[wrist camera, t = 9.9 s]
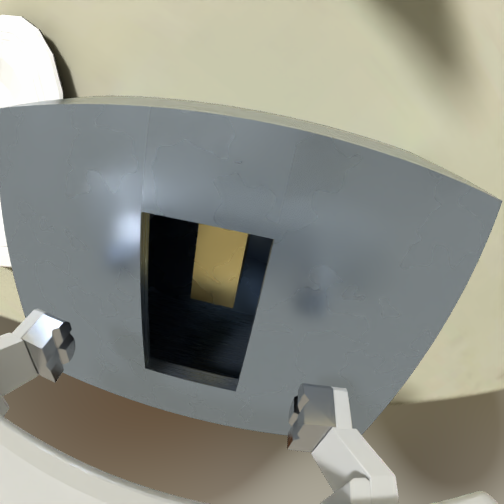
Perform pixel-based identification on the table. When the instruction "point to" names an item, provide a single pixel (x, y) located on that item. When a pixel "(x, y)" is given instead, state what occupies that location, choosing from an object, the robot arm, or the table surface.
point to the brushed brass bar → (218, 264)
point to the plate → (24, 77)
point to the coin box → (257, 259)
